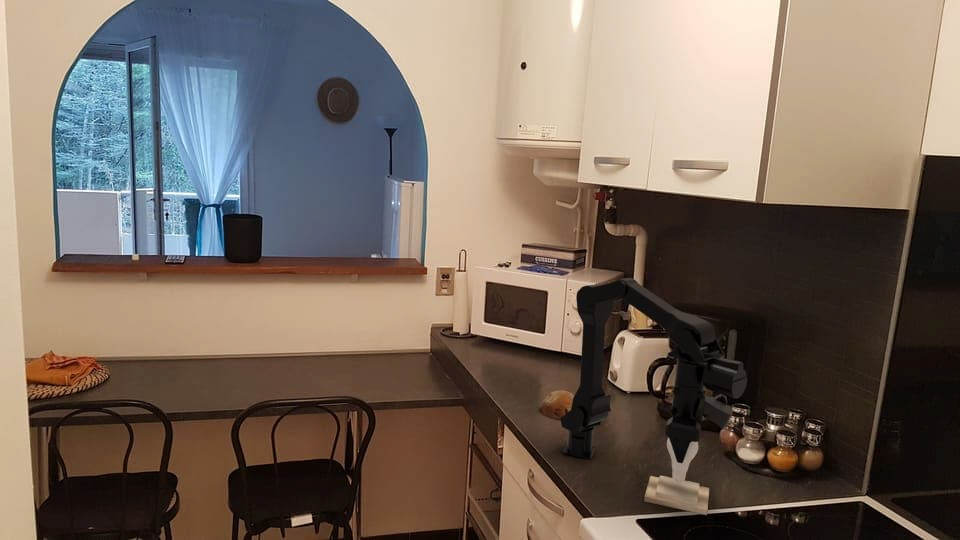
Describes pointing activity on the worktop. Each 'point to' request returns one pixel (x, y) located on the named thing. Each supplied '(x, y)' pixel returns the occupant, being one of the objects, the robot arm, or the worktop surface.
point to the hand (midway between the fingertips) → (681, 456)
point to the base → (677, 494)
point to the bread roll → (557, 404)
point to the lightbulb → (682, 468)
